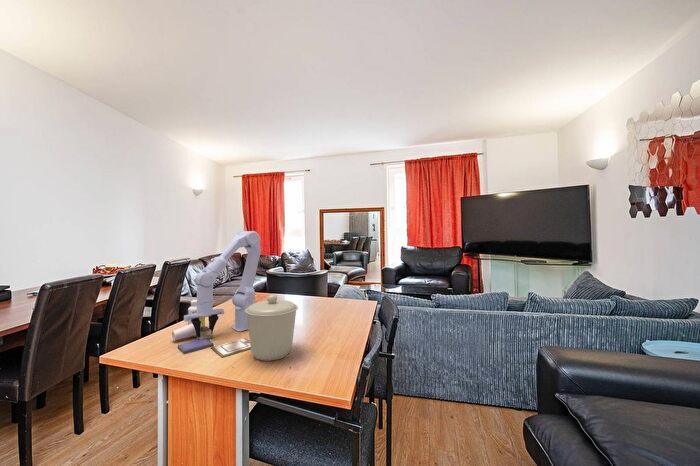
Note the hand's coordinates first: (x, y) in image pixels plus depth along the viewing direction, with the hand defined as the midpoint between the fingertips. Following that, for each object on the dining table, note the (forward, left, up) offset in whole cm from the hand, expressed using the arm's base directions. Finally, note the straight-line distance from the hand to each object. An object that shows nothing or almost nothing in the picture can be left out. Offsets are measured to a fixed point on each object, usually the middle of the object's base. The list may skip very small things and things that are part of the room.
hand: (204, 335), depth 111 cm
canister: (-12, +32, -2) cm, 34 cm away
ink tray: (+5, +6, -2) cm, 8 cm away
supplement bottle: (-1, -14, -2) cm, 14 cm away
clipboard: (-5, +17, -2) cm, 18 cm away
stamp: (0, 0, -2) cm, 2 cm away
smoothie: (+10, -5, +1) cm, 11 cm away
